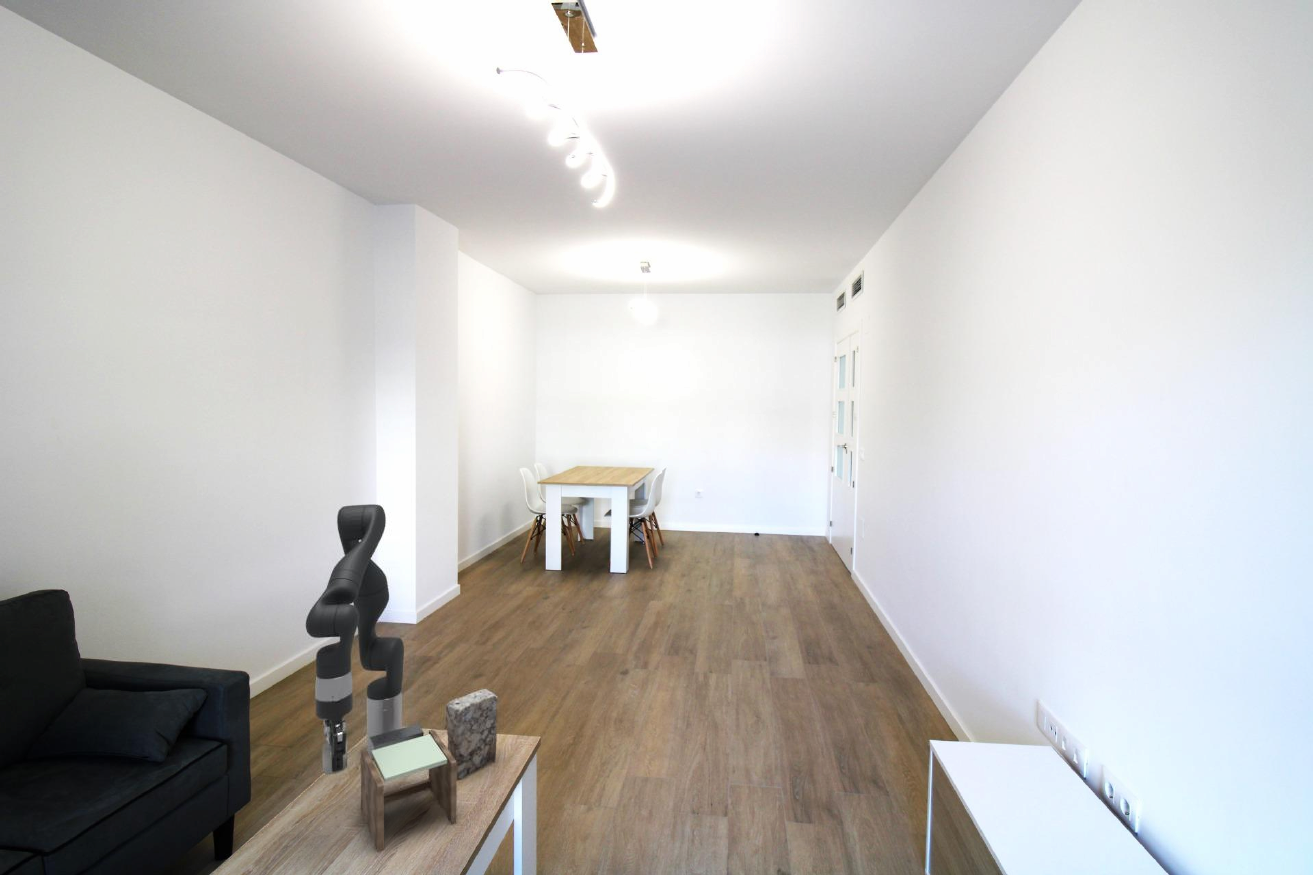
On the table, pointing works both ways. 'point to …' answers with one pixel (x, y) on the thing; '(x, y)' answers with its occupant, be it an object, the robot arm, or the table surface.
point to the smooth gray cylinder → (328, 759)
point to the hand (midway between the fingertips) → (335, 763)
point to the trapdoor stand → (406, 791)
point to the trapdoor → (405, 752)
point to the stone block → (472, 731)
